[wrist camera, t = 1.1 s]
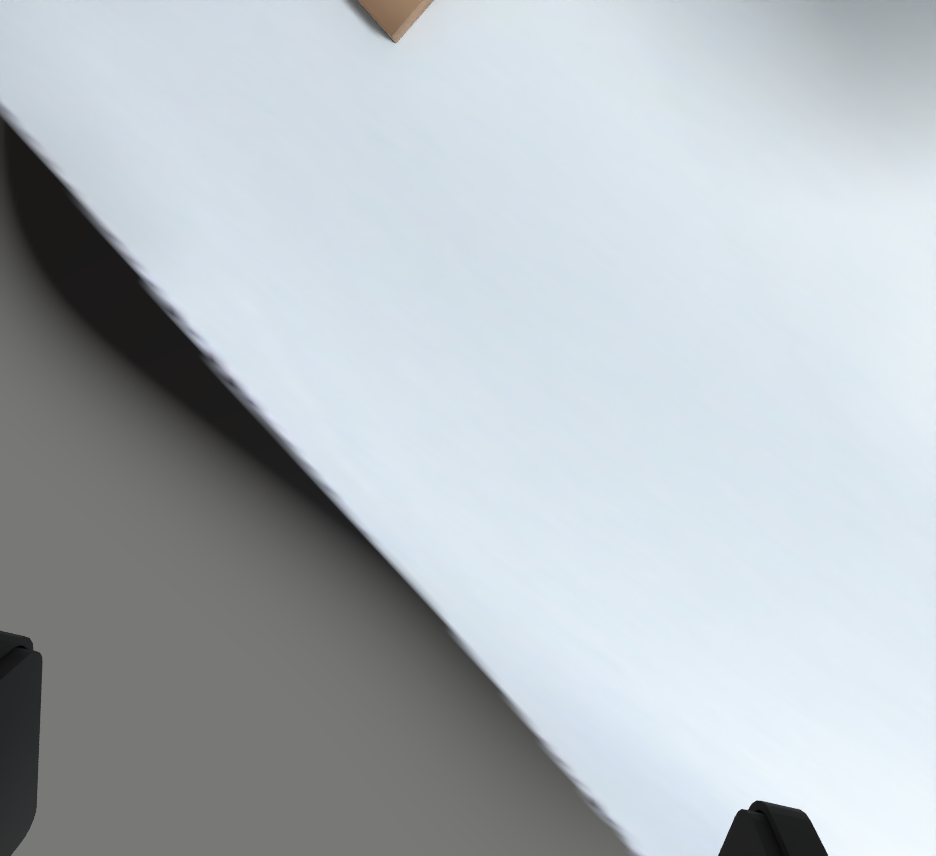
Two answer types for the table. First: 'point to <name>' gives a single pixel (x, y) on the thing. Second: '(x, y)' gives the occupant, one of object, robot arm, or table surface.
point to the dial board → (395, 14)
